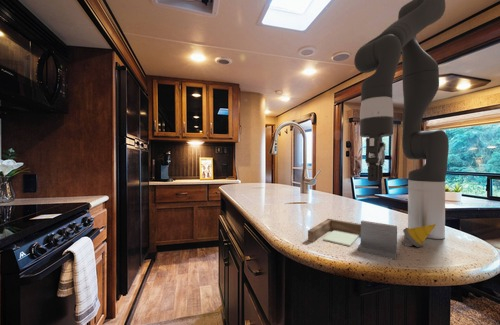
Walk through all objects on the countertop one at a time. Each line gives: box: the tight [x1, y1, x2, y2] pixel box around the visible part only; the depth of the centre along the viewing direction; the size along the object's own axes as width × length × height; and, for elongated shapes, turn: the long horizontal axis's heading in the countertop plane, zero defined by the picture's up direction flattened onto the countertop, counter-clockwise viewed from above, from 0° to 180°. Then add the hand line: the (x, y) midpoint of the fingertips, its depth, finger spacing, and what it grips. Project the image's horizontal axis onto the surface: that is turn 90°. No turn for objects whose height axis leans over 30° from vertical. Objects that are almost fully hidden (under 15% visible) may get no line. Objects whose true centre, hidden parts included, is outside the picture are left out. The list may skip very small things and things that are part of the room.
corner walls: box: [307, 218, 361, 243], centre depth 65 cm, size 18×15×3 cm
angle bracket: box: [357, 220, 398, 260], centre depth 55 cm, size 8×4×7 cm, turn 52°
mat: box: [322, 229, 360, 247], centre depth 65 cm, size 11×8×1 cm
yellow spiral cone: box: [402, 224, 436, 248], centre depth 59 cm, size 5×5×10 cm
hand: (375, 180), depth 56 cm, fingers open, 8 cm apart
